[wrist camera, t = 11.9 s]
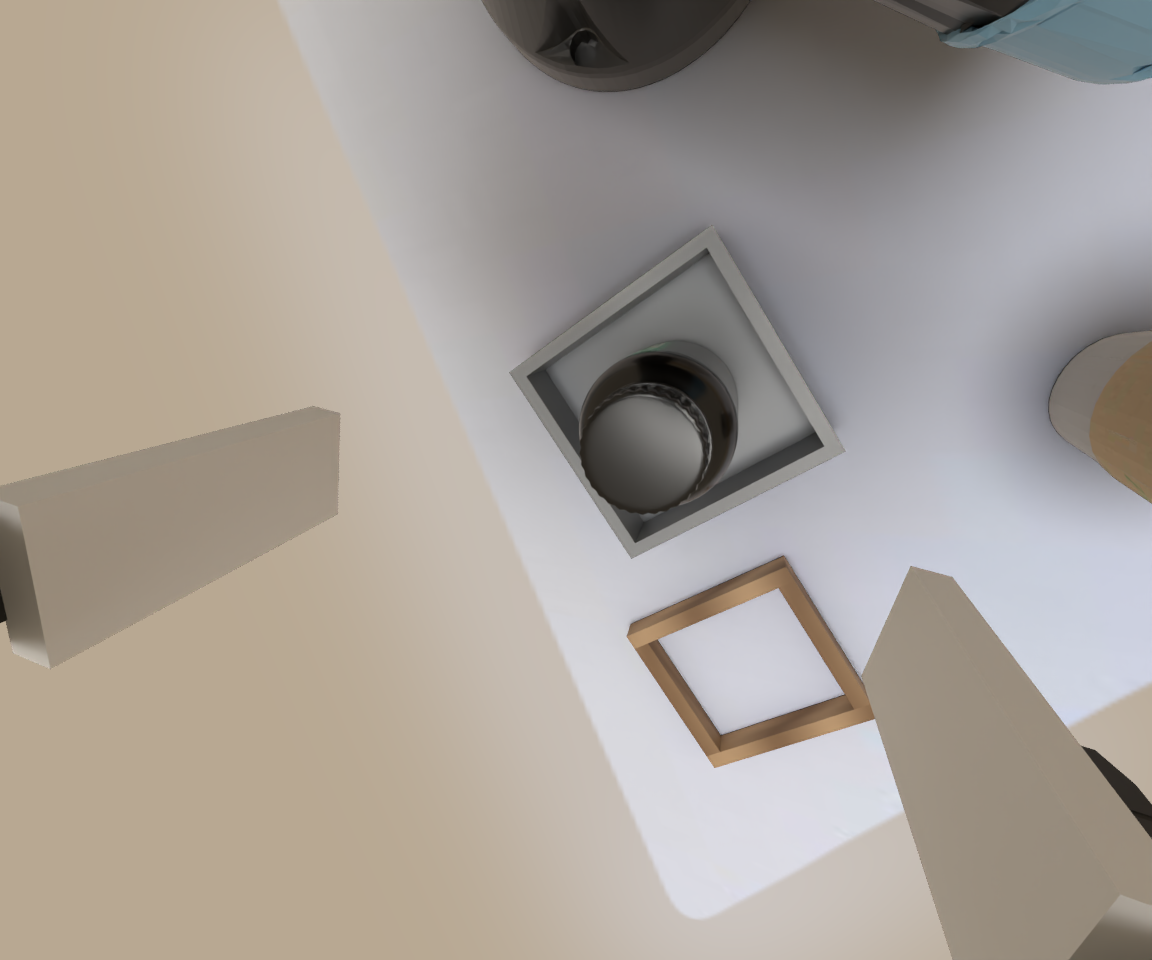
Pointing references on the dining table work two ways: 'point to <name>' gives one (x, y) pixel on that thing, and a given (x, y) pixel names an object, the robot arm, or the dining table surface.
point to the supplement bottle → (659, 427)
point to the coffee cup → (1110, 407)
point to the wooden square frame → (775, 730)
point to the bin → (717, 322)
